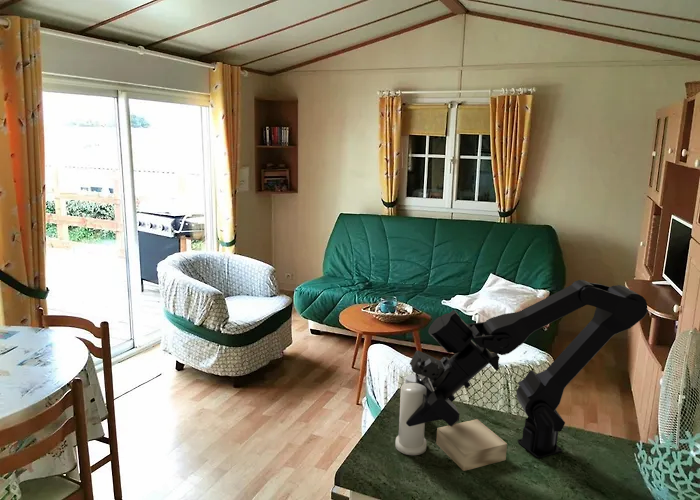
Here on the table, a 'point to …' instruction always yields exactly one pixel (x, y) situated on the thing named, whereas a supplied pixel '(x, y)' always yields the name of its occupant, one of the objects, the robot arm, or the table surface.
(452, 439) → the oak box
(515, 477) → the table surface
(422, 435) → the white flanged cylinder
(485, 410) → the table surface
